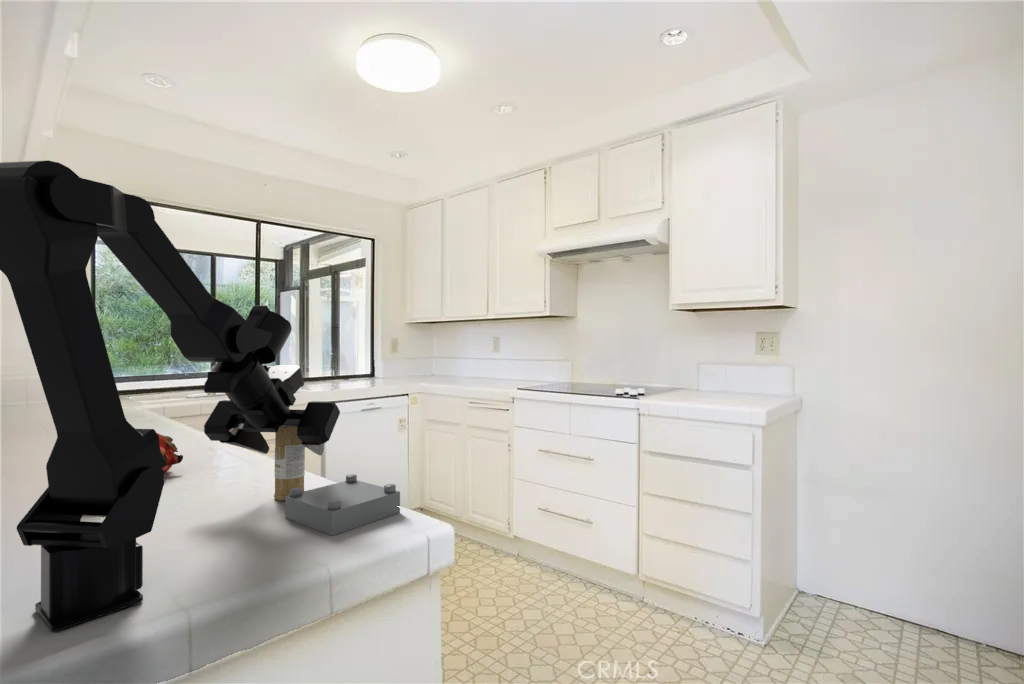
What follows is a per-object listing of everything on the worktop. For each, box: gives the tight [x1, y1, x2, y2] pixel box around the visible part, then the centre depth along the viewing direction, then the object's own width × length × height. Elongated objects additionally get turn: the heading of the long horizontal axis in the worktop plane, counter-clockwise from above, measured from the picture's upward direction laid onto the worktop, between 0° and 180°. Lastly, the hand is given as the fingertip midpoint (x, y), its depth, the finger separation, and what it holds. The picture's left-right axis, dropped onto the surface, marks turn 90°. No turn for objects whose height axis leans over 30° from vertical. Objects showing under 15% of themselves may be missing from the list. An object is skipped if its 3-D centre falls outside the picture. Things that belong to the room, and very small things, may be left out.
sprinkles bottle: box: [273, 426, 306, 502], centre depth 80 cm, size 5×5×14 cm
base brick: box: [284, 473, 401, 536], centre depth 72 cm, size 11×11×4 cm
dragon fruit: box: [156, 432, 184, 474], centre depth 94 cm, size 8×8×12 cm
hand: (294, 451), depth 82 cm, fingers open, 9 cm apart
